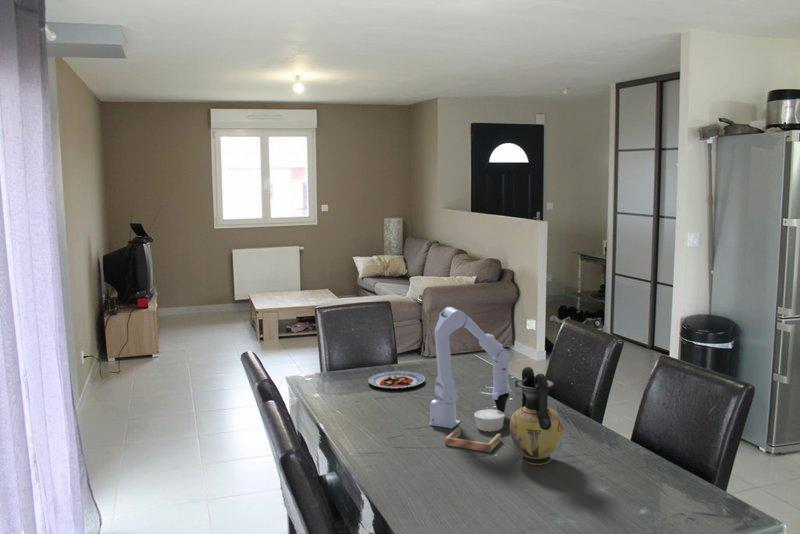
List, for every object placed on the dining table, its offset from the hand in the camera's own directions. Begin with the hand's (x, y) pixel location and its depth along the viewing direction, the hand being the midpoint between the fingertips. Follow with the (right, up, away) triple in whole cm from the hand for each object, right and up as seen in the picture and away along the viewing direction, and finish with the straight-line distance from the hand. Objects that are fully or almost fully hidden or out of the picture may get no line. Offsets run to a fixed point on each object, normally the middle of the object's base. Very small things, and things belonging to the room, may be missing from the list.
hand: (501, 412), depth 268 cm
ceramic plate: (-41, +3, +48) cm, 63 cm away
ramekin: (-6, -4, -11) cm, 13 cm away
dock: (-13, -5, -25) cm, 29 cm away
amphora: (+5, -7, -42) cm, 42 cm away
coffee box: (+7, -3, -10) cm, 13 cm away
